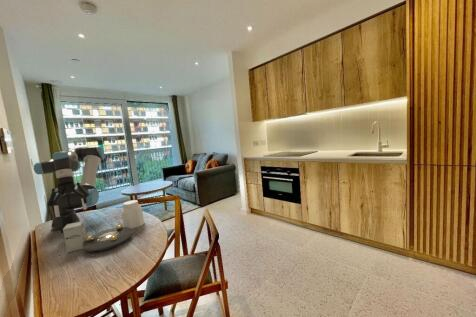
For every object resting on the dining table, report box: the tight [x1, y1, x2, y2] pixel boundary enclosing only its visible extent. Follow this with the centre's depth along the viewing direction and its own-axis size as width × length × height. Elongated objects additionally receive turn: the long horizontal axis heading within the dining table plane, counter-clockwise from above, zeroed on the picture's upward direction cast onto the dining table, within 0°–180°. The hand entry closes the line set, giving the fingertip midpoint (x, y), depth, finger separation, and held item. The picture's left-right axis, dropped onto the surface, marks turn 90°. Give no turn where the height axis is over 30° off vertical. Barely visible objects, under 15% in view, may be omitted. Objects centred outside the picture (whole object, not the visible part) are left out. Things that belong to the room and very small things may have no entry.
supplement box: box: [62, 220, 87, 254], centre depth 109 cm, size 7×7×13 cm
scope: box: [59, 213, 78, 234], centre depth 123 cm, size 8×14×10 cm
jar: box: [121, 199, 145, 230], centre depth 131 cm, size 12×10×15 cm
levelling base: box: [82, 223, 133, 253], centre depth 111 cm, size 22×22×6 cm
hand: (71, 213), depth 121 cm, fingers open, 13 cm apart
